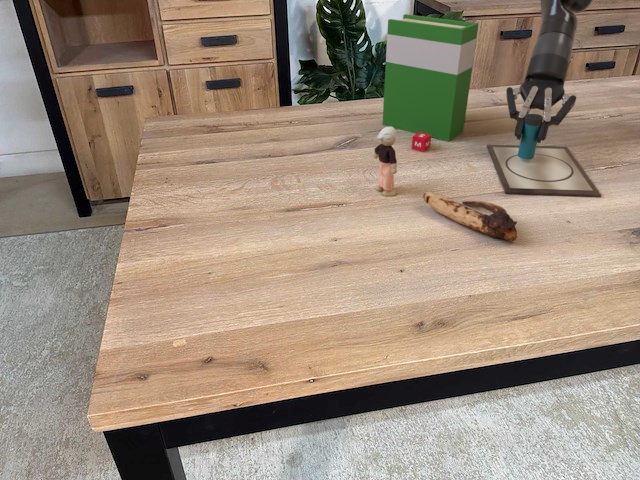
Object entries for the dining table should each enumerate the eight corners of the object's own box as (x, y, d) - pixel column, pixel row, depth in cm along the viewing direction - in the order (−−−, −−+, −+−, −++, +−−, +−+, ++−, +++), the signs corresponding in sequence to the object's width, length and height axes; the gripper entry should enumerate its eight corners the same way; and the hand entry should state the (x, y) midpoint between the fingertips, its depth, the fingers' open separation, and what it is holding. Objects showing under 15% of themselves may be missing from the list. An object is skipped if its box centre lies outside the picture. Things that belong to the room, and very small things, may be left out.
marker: (531, 153, 111) (540, 113, 106) (535, 159, 108) (545, 119, 104) (515, 152, 111) (523, 113, 107) (519, 159, 109) (527, 119, 104)
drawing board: (566, 148, 116) (566, 145, 116) (600, 197, 98) (601, 194, 98) (486, 146, 118) (487, 143, 117) (505, 194, 100) (506, 191, 99)
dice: (423, 152, 116) (424, 139, 114) (411, 149, 117) (412, 136, 116) (430, 147, 118) (431, 134, 116) (418, 144, 119) (419, 131, 118)
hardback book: (382, 124, 129) (388, 19, 116) (398, 115, 134) (405, 14, 121) (448, 141, 120) (462, 29, 107) (463, 131, 125) (478, 23, 112)
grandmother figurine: (405, 194, 100) (411, 130, 93) (390, 200, 98) (394, 135, 91) (379, 179, 105) (382, 118, 98) (363, 185, 103) (366, 122, 96)
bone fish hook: (533, 232, 89) (443, 193, 100) (540, 207, 87) (447, 171, 97) (504, 253, 84) (413, 210, 94) (511, 227, 81) (416, 186, 92)
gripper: (513, 48, 107) (492, 126, 105) (590, 55, 102) (569, 137, 100) (513, 67, 114) (492, 141, 112) (584, 75, 109) (564, 153, 107)
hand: (528, 139), depth 106 cm, fingers closed on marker, 3 cm apart
